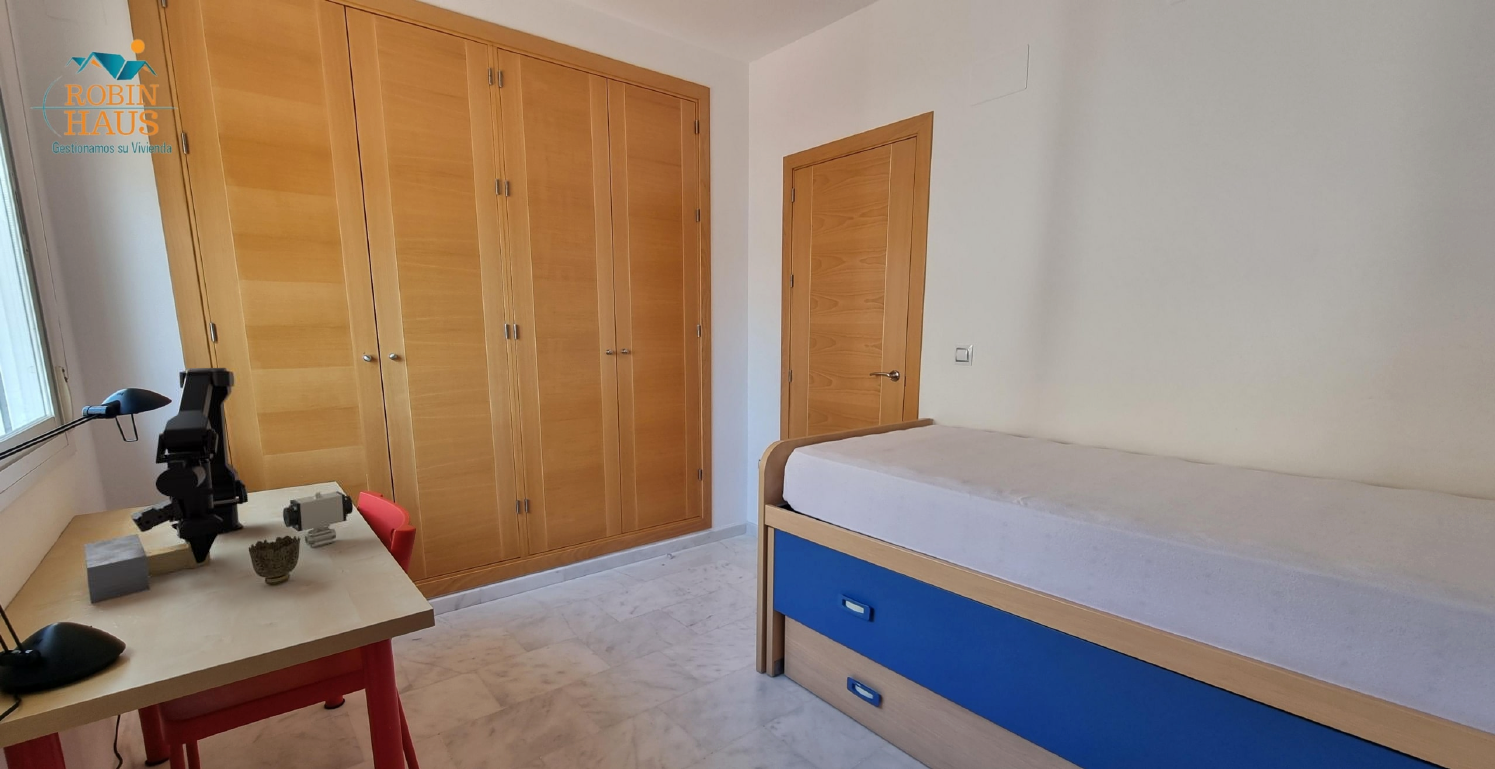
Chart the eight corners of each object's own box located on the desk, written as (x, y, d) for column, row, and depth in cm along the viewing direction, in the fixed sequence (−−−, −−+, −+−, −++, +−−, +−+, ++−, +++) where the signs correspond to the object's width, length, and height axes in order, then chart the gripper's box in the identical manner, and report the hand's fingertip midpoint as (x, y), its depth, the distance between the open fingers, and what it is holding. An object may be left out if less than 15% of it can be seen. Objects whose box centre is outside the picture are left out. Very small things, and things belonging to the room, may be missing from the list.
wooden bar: (206, 557, 115) (204, 535, 114) (210, 563, 112) (208, 541, 111) (96, 582, 103) (94, 558, 103) (97, 590, 100) (95, 565, 100)
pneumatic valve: (355, 538, 126) (352, 488, 125) (291, 554, 117) (287, 500, 116) (346, 533, 130) (343, 484, 129) (284, 548, 120) (280, 496, 119)
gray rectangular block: (140, 564, 112) (137, 534, 111) (149, 589, 101) (146, 555, 100) (87, 576, 106) (83, 544, 106) (90, 603, 95) (87, 568, 95)
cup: (300, 570, 109) (298, 532, 108) (305, 582, 104) (302, 542, 103) (250, 582, 104) (247, 541, 103) (252, 595, 99) (249, 552, 98)
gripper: (128, 486, 110) (135, 560, 112) (137, 503, 99) (145, 585, 100) (205, 475, 119) (211, 544, 120) (221, 490, 108) (227, 566, 109)
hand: (198, 559), depth 112 cm, fingers closed on wooden bar, 5 cm apart
